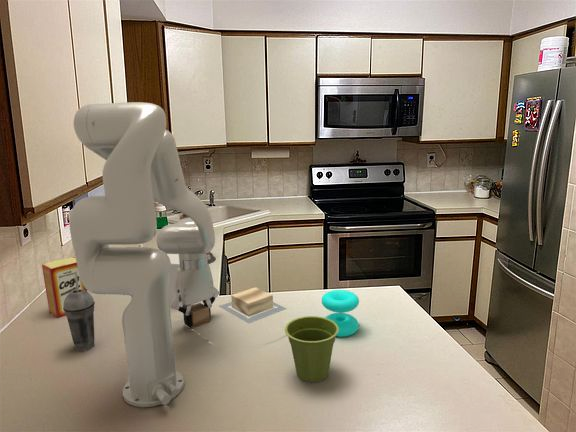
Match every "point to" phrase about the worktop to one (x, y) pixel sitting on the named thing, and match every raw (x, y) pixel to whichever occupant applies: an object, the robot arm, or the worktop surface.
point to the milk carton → (173, 276)
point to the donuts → (342, 310)
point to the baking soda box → (60, 283)
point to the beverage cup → (80, 317)
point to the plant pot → (312, 346)
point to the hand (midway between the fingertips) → (198, 322)
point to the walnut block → (199, 314)
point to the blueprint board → (254, 317)
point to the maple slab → (252, 301)
